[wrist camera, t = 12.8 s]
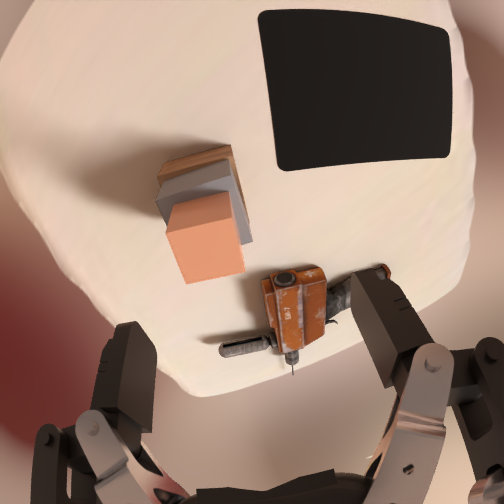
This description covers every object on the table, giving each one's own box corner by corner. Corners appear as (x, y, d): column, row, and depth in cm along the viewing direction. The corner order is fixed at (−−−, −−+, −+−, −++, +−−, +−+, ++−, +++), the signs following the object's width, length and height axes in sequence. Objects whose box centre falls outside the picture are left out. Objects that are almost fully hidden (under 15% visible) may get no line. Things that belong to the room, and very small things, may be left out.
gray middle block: (163, 180, 29) (155, 200, 25) (228, 158, 28) (230, 175, 24) (187, 235, 33) (184, 262, 29) (247, 217, 32) (252, 241, 28)
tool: (396, 258, 41) (198, 306, 39) (372, 358, 56) (235, 396, 55) (383, 244, 44) (197, 287, 43) (365, 345, 60) (232, 380, 58)
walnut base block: (164, 162, 32) (157, 176, 28) (230, 144, 32) (232, 155, 28) (184, 219, 37) (181, 240, 33) (245, 204, 37) (249, 223, 33)
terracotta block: (173, 204, 25) (165, 233, 21) (229, 191, 25) (231, 217, 21) (189, 250, 28) (186, 284, 24) (240, 239, 28) (245, 271, 24)
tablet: (449, 30, 24) (450, 157, 35) (446, 30, 24) (447, 156, 35) (256, 11, 23) (278, 172, 35) (255, 12, 24) (277, 171, 35)
